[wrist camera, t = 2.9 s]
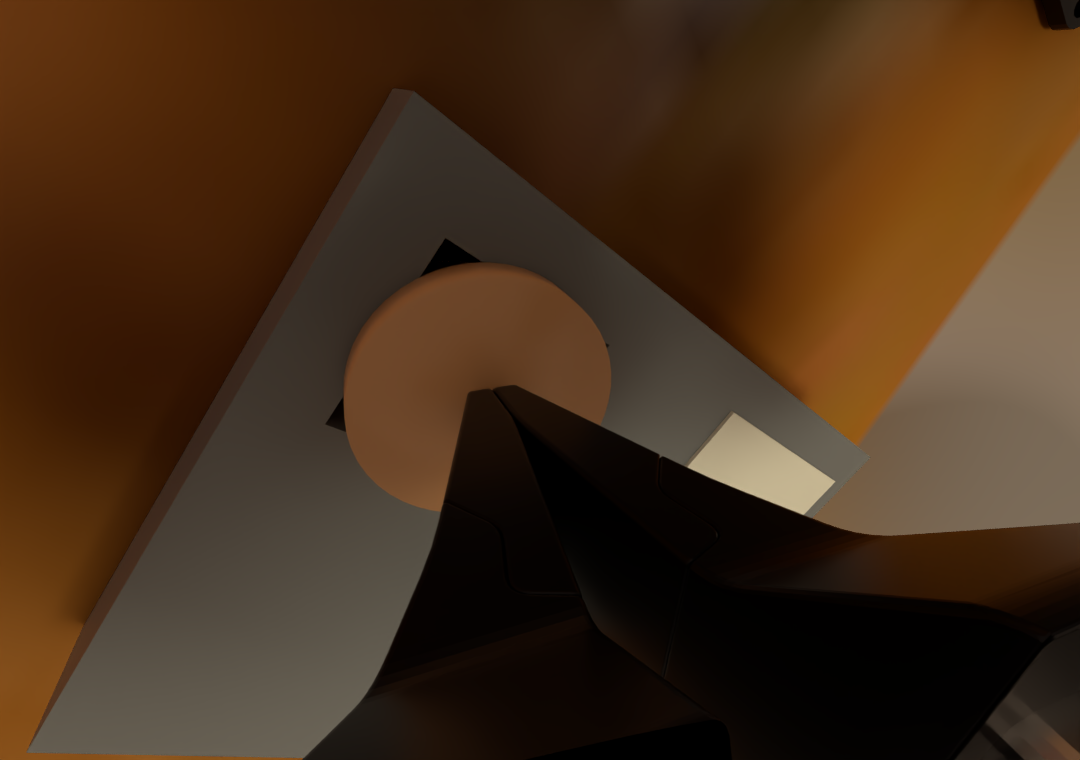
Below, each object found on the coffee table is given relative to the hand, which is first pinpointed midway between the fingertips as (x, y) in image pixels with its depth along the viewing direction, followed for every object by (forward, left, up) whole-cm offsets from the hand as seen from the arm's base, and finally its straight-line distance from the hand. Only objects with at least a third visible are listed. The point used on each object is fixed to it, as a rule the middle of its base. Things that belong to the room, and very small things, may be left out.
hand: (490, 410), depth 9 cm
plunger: (0, 0, -4) cm, 4 cm away
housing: (+4, +5, -4) cm, 7 cm away
